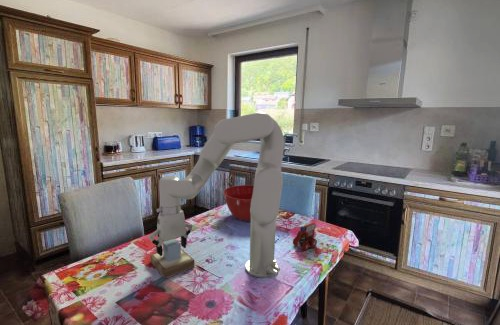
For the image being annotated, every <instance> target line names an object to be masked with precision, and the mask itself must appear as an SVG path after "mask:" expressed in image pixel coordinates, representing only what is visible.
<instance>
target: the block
mask: <svg viewBox="0 0 500 325" xmlns="http://www.w3.org/2000/svg"><path fill="white" fill-rule="evenodd" d="M181 247H182V246H181V242H180V241H179V240H177V238H175V239H172V240H168V241H163V243H162V251H163V257H164V258H165V259H166V260H167V261H168V262H170V261H172V260H175V259H178V258H181V249H182V248H181Z"/></svg>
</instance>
